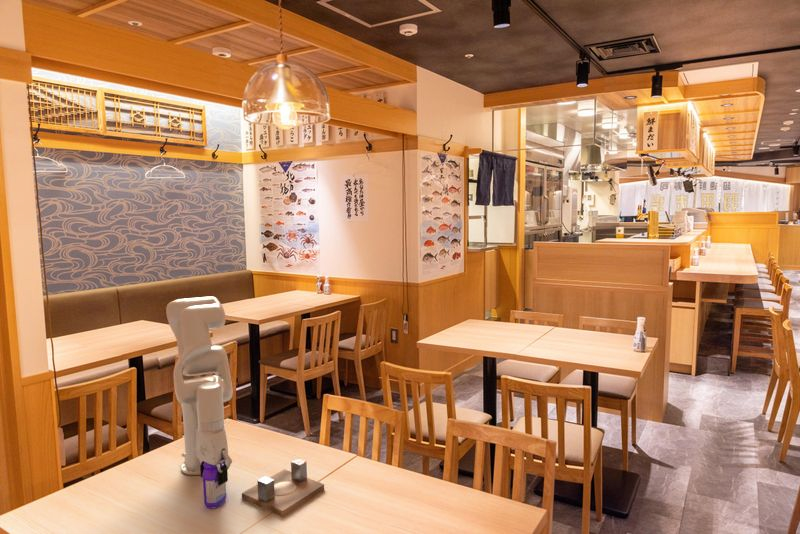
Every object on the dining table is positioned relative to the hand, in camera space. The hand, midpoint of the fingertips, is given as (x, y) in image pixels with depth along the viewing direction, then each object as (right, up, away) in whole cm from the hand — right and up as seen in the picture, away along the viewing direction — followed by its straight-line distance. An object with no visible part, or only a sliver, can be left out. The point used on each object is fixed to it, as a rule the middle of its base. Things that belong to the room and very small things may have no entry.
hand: (214, 478), depth 165 cm
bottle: (0, -8, +1) cm, 8 cm away
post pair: (+20, -5, +5) cm, 21 cm away
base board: (+20, -7, +5) cm, 22 cm away
